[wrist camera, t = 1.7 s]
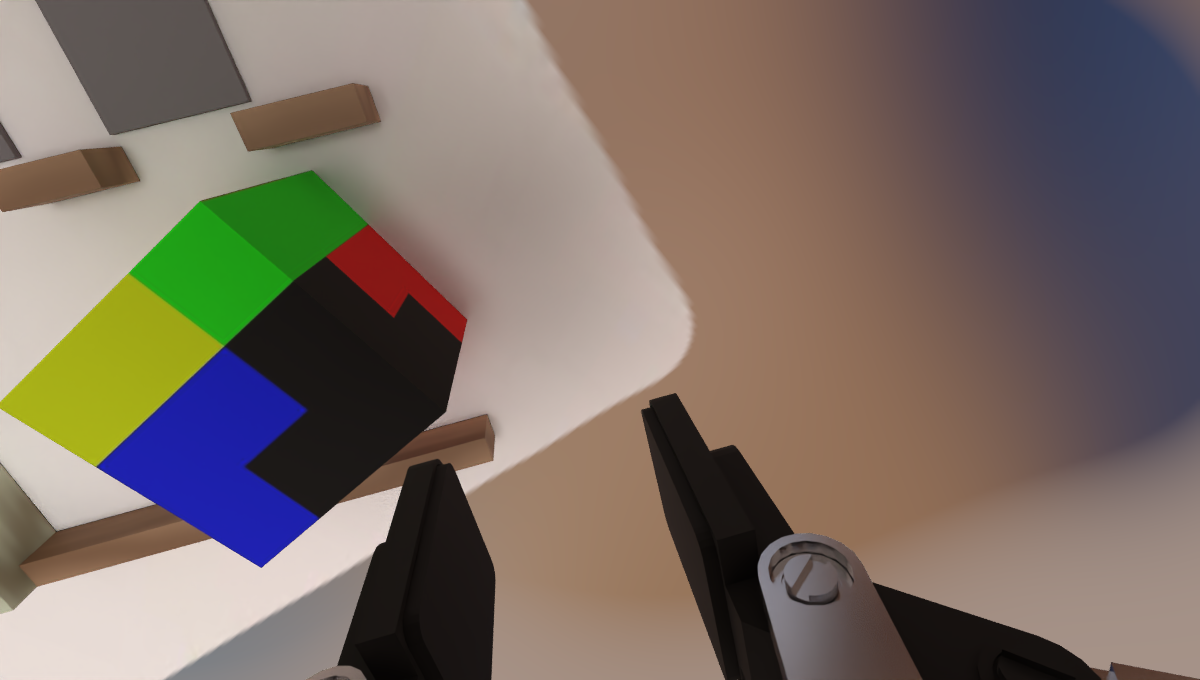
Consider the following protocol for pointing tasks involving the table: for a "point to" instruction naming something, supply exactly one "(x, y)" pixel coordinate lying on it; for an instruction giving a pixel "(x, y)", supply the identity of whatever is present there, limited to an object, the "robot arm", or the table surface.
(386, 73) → the table surface
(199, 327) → the puzzle toy
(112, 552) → the trap box
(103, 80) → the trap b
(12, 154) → the grey flat block
